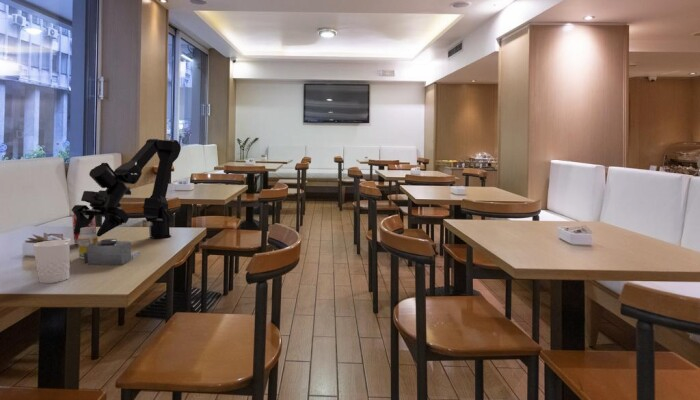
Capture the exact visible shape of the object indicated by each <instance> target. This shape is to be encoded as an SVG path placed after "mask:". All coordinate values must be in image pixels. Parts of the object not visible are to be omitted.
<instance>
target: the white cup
mask: <svg viewBox="0 0 700 400" xmlns="http://www.w3.org/2000/svg"><path fill="white" fill-rule="evenodd" d="M33 251H34V259H35V265H36V272H37V273H38V280H39V282H40V283H41V282H42V284H53V283H52V282H55V283H59V281H60V282H64V281H66V279H67V280H68V279H69V278H70V267H71V264H70V262H71V261H70V260H71V259H70V254H71V252H70V251H71V250H70V241H69V240H65V239H54V240H53V239H52V240H46V241H40V242H36V243H35V244H33Z"/></svg>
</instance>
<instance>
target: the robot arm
mask: <svg viewBox="0 0 700 400" xmlns="http://www.w3.org/2000/svg"><path fill="white" fill-rule="evenodd" d="M181 151H182V146H181V143H180V142H179V140H176V139H160V138H149V139H147V140H146V141H145V143H144V145H143V146H142V147H141V148H140V149H139V150H138V151H137V152H136V153H135V154H134V155H133V157H132V158H131V159H130V160H129V161H127V162H125V163H123V164H120V166H118V167H117V168H115V170H113V169H112V167H111V165H109V163H108V162H101V164H99V165H97V166H95V167H94V168H92V169H90V171H89V173H88V175H89V177H90V178H91V179H92V180H93V181H94V182H95V183H96V184H97V186H99V187H100V188H101V189H105V190H98V191H93V190H84V191H83V192H82V196H81V198H80V201H82V202H86V203H87V204H88V203H89V206H90V207H91V208H92V209H90V208H89V207H88V205H87V204H86V205H85V204H74V206H73V207H72V208H71V212H72V213H73V215H74V214H75V215H76V224H75V229H74V234H75V235H77V234H78V233H80V228H84V227H86V226H88V225H89V224H90V223H91V220H92V219H93V218H94V217H95V218H96V217H100V218H101V217H102V218H104V220H103V222H102V224H101V225H100V227H99V228H98V230H97V231H96V235H97V236H98V237H101V236H103V235H105V234H107V233H108V232H110V231H112V230H114V229H115V228H117V227H119V226H123V224H127V222H128V221H129V220H130V219H129V217H130V215H129V214H128V213H127V212H126V211H125V210H124V209H123V207H121V206H122V204H121V203H120V202H121V200H122V199H123V198H124V196H131V195H132V191H131V187H130V186H126V184H127V185H135V184H137V183H138V182H139V180H140V178H141V176H142V174H143V173H142V171H143V169H144V167H146V166H147V164H148V162H149V161H150V160H151V159H153V157H155V155H156V154H157V157H158V159H159V162H158V166H157V171H156V175H155V180H154V184H153V188H152V194H151V195H150V196H149V197H145V199H144V203H143V206H142V209H143V210H142V212H143V215H144V218H145V221H146V222H148V223H150V224H149V226H148V231H149V237H150V238H152V239H153V240H155V239H163V238H171V237H172V234H171V233H170V231H171V230H170V223H172V222H173V220H174V215H173V214H172V212H171V211H170V210H169V202H168V200H167V198H166V197H167V192H168V187H169V183H170V179H171V173H172V170H173V169H172V168H173V164H174V162H175V161H176V160H177V159H178V158H179V156H180V153H181Z"/></svg>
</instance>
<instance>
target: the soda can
mask: <svg viewBox="0 0 700 400" xmlns="http://www.w3.org/2000/svg"><path fill="white" fill-rule="evenodd" d="M75 224H76V215H75V214H74V213H73V215H72V232H73V240H74V244H77V246H79V243H78V237H79V235H81V232H80V233H78V234H77V235H75V234H74V229H75ZM86 227H94V228H95V232H94V233H95V234H97V226H96V216H95V217H94V218H93V219H92V220H91V223H90V224H89V225H88V226H86Z"/></svg>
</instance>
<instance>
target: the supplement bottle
mask: <svg viewBox="0 0 700 400" xmlns="http://www.w3.org/2000/svg"><path fill="white" fill-rule="evenodd" d="M80 232H81V235H79V237H78V243H79V245H78V256H79V258H80V260H84V253H87V246H88V245H90V244H93V243H95V242H98V241H99V238H98V236H97V235H96V234H97V233H96V234H95V233H94V232H95V228H94V227H84V228H80Z"/></svg>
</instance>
